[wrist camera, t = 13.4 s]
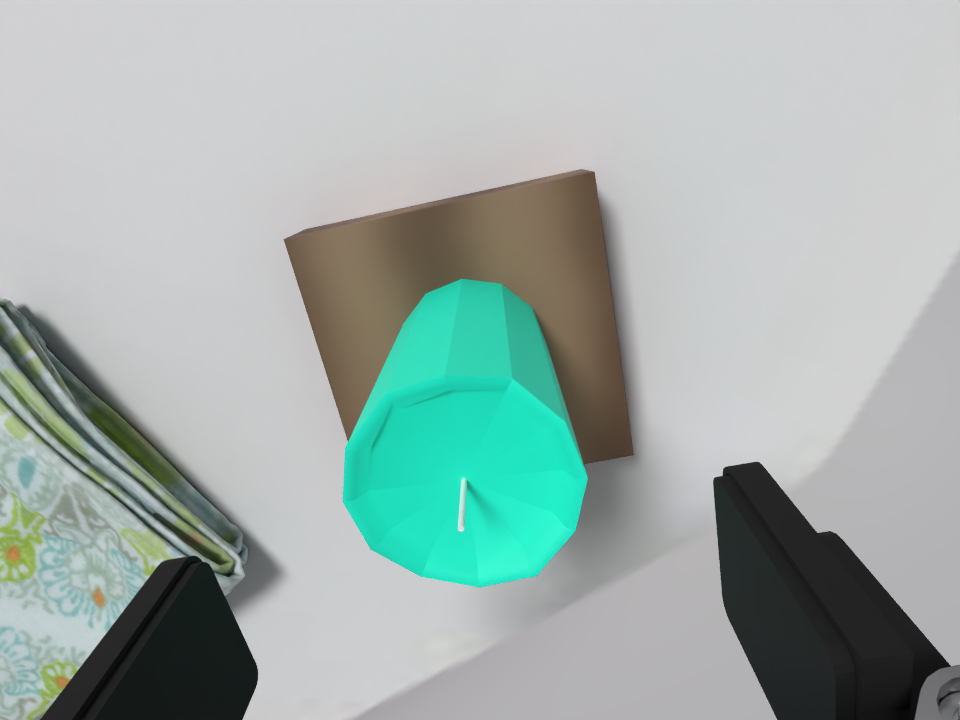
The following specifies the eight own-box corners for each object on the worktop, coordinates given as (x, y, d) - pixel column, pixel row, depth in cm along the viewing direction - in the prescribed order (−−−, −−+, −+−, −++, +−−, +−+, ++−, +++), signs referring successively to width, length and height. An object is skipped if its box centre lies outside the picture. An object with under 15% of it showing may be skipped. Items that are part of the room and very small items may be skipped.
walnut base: (581, 169, 25) (594, 171, 22) (618, 424, 29) (633, 455, 26) (305, 229, 26) (283, 239, 23) (378, 469, 29) (367, 503, 27)
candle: (574, 363, 24) (652, 551, 13) (460, 442, 26) (439, 675, 14) (486, 247, 23) (487, 345, 11) (368, 337, 24) (265, 506, 13)
